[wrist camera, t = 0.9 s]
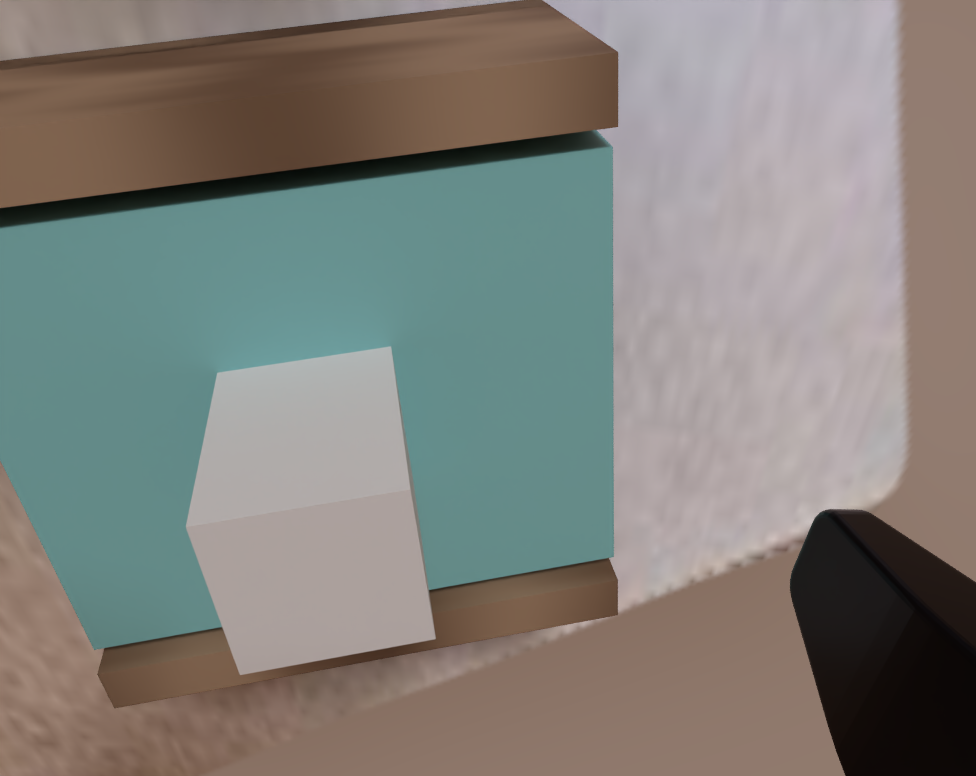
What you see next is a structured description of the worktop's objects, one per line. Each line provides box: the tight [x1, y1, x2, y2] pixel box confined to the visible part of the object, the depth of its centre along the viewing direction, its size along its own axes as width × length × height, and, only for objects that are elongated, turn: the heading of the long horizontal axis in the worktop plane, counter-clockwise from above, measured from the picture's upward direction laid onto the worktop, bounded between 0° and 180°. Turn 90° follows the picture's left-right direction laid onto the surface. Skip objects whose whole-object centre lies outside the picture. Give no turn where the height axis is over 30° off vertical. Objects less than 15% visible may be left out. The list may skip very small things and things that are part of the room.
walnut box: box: [0, 0, 618, 708], centre depth 18 cm, size 11×12×6 cm
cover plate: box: [0, 130, 614, 675], centre depth 14 cm, size 11×9×5 cm
